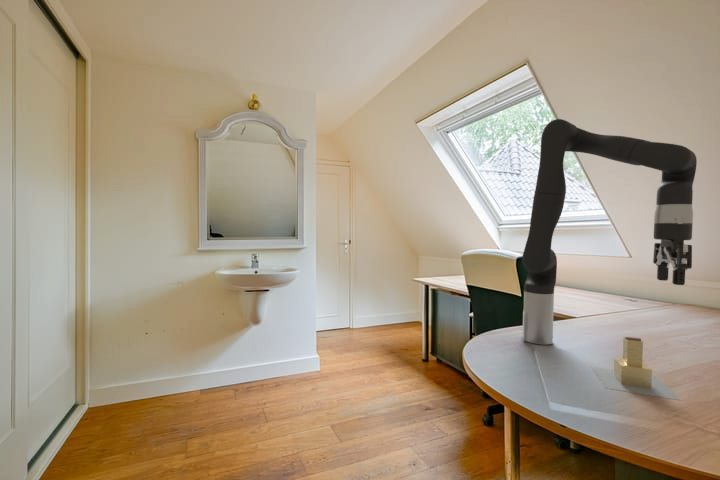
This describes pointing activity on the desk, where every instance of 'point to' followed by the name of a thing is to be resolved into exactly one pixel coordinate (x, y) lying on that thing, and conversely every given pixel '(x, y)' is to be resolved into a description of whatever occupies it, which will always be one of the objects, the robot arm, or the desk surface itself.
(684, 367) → the desk surface
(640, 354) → the cream stepped block
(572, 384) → the desk surface
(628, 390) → the thin grey square mat
